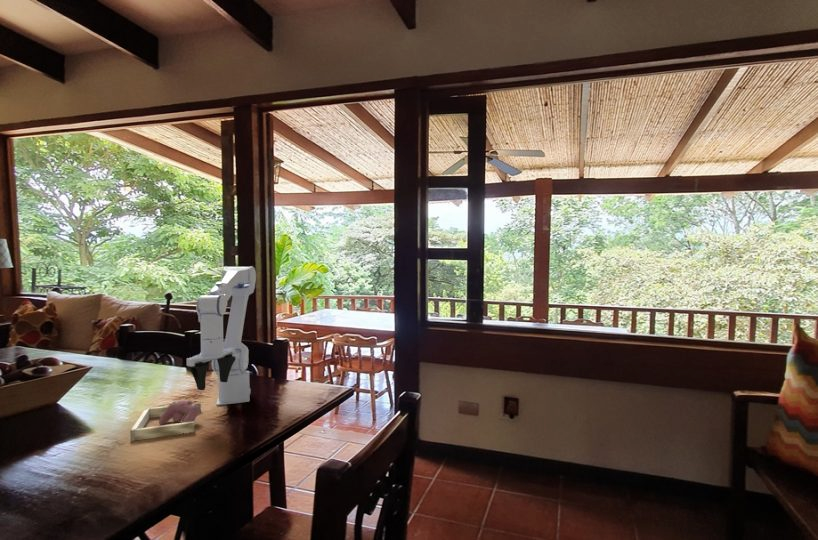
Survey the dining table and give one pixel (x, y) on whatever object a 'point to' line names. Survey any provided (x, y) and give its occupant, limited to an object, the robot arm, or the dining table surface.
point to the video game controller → (180, 412)
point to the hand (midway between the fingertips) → (212, 385)
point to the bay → (159, 431)
